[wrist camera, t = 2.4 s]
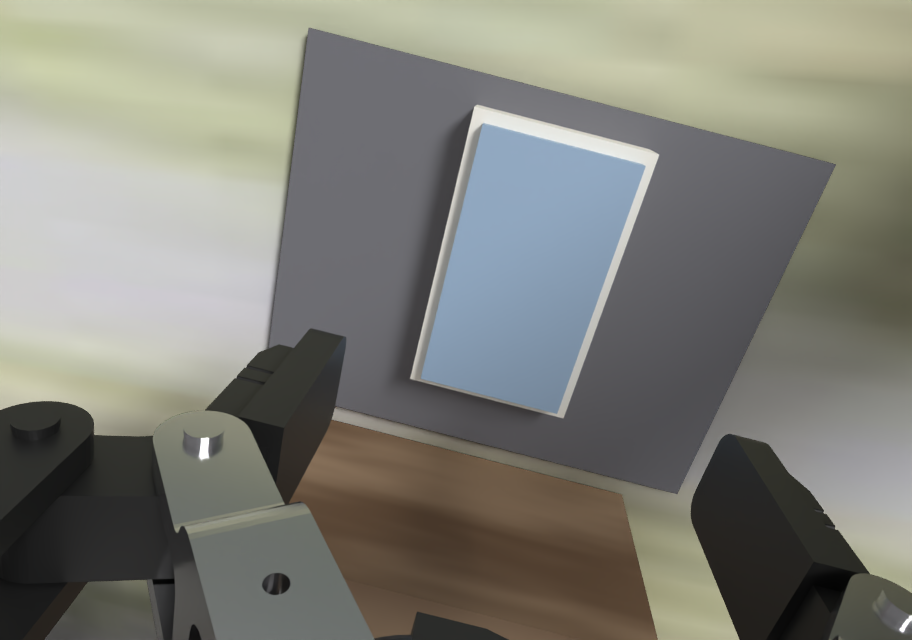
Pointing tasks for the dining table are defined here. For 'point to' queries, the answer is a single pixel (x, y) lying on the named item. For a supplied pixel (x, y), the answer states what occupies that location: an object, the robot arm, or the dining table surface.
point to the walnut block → (473, 541)
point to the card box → (528, 259)
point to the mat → (631, 295)
